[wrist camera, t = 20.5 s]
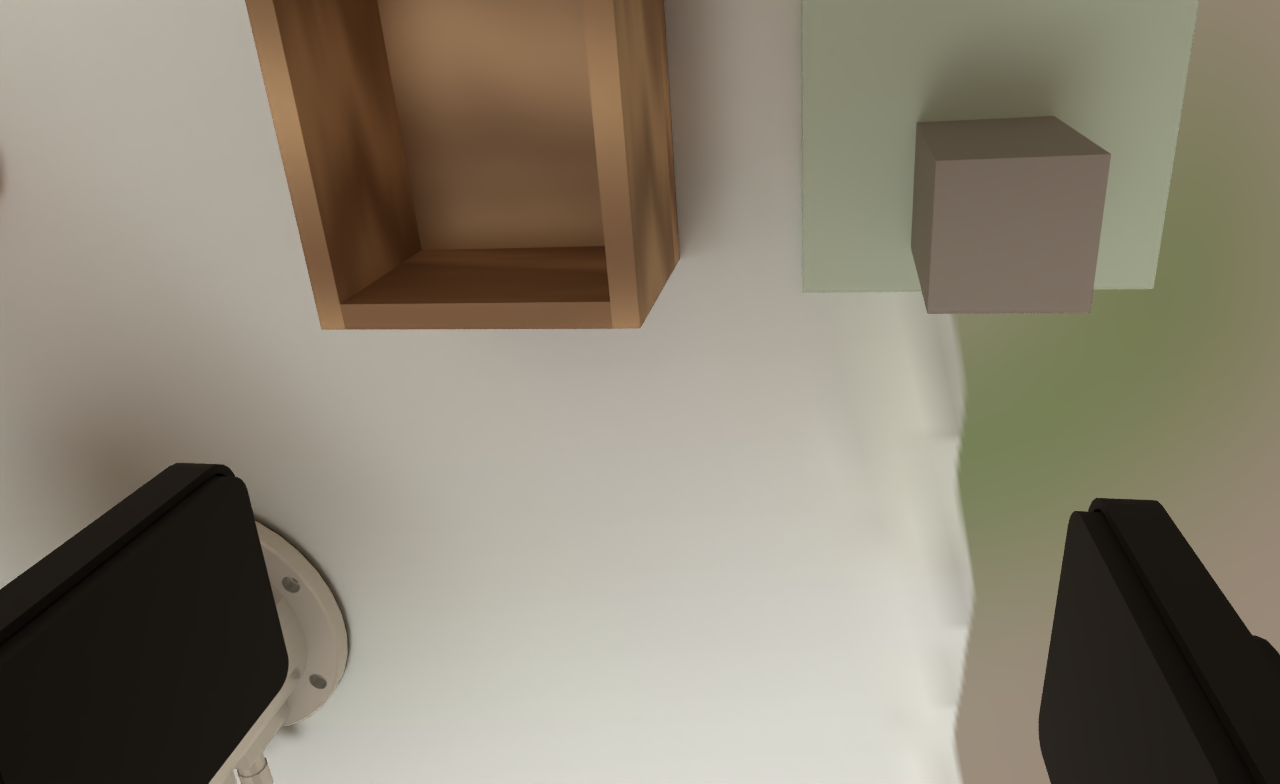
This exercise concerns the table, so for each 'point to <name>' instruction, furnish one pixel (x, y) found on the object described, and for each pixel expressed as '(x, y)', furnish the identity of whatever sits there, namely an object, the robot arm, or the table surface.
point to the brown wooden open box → (475, 158)
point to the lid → (989, 147)
